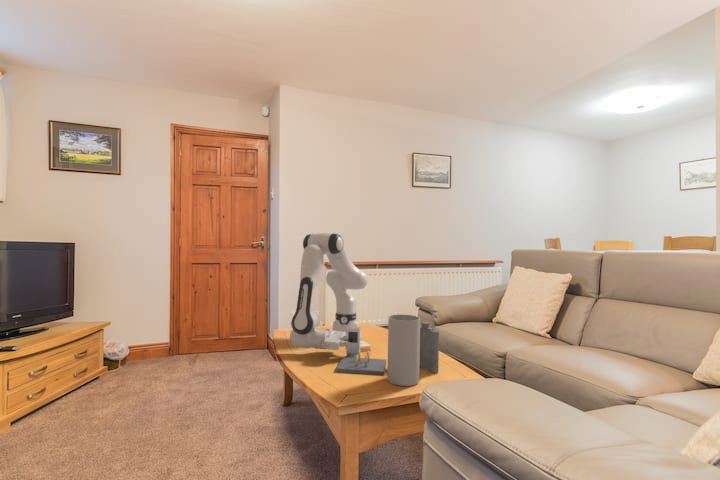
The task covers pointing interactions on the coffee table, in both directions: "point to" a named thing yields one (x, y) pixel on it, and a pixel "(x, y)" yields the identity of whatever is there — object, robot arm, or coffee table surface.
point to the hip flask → (429, 348)
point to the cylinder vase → (403, 349)
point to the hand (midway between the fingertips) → (351, 341)
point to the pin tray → (362, 365)
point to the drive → (353, 341)
